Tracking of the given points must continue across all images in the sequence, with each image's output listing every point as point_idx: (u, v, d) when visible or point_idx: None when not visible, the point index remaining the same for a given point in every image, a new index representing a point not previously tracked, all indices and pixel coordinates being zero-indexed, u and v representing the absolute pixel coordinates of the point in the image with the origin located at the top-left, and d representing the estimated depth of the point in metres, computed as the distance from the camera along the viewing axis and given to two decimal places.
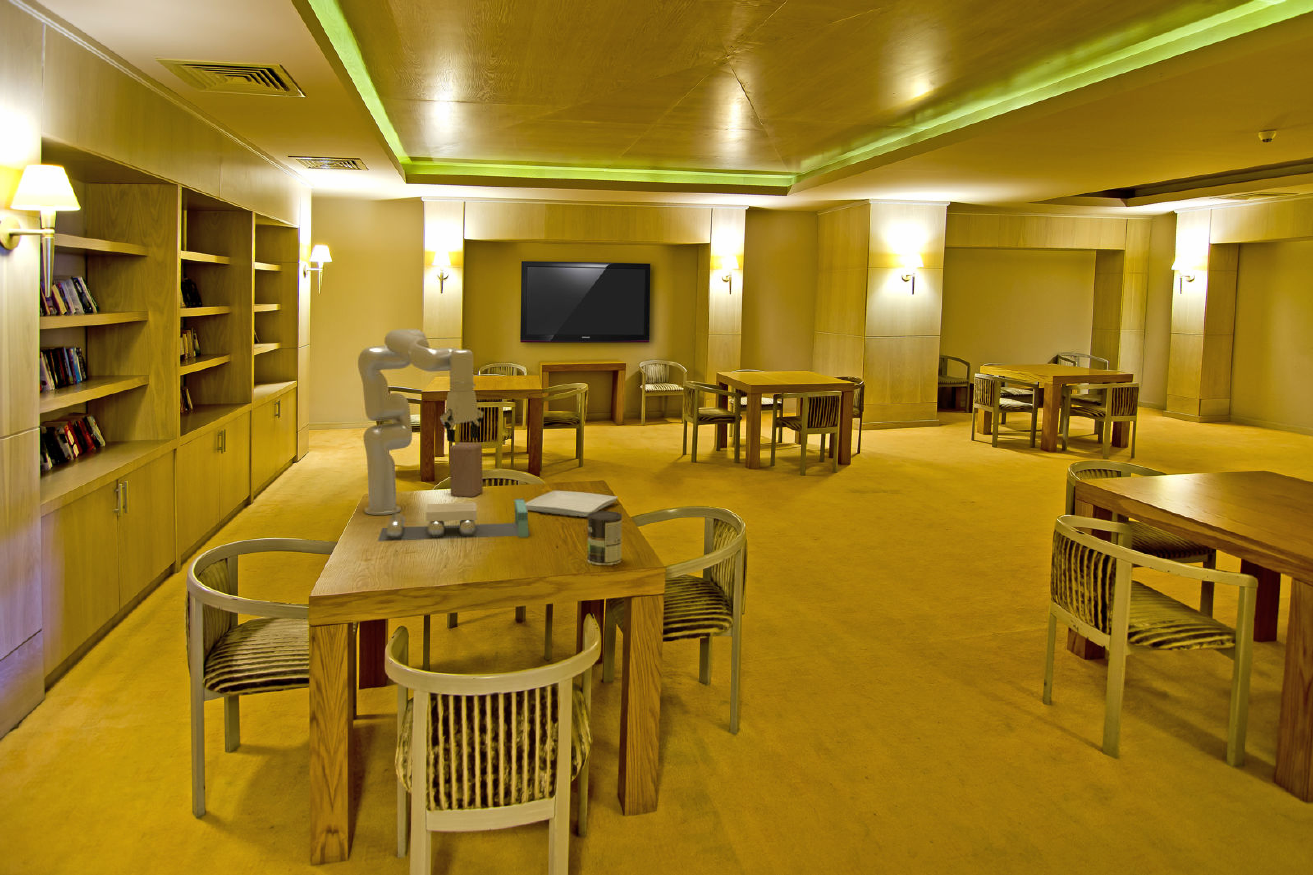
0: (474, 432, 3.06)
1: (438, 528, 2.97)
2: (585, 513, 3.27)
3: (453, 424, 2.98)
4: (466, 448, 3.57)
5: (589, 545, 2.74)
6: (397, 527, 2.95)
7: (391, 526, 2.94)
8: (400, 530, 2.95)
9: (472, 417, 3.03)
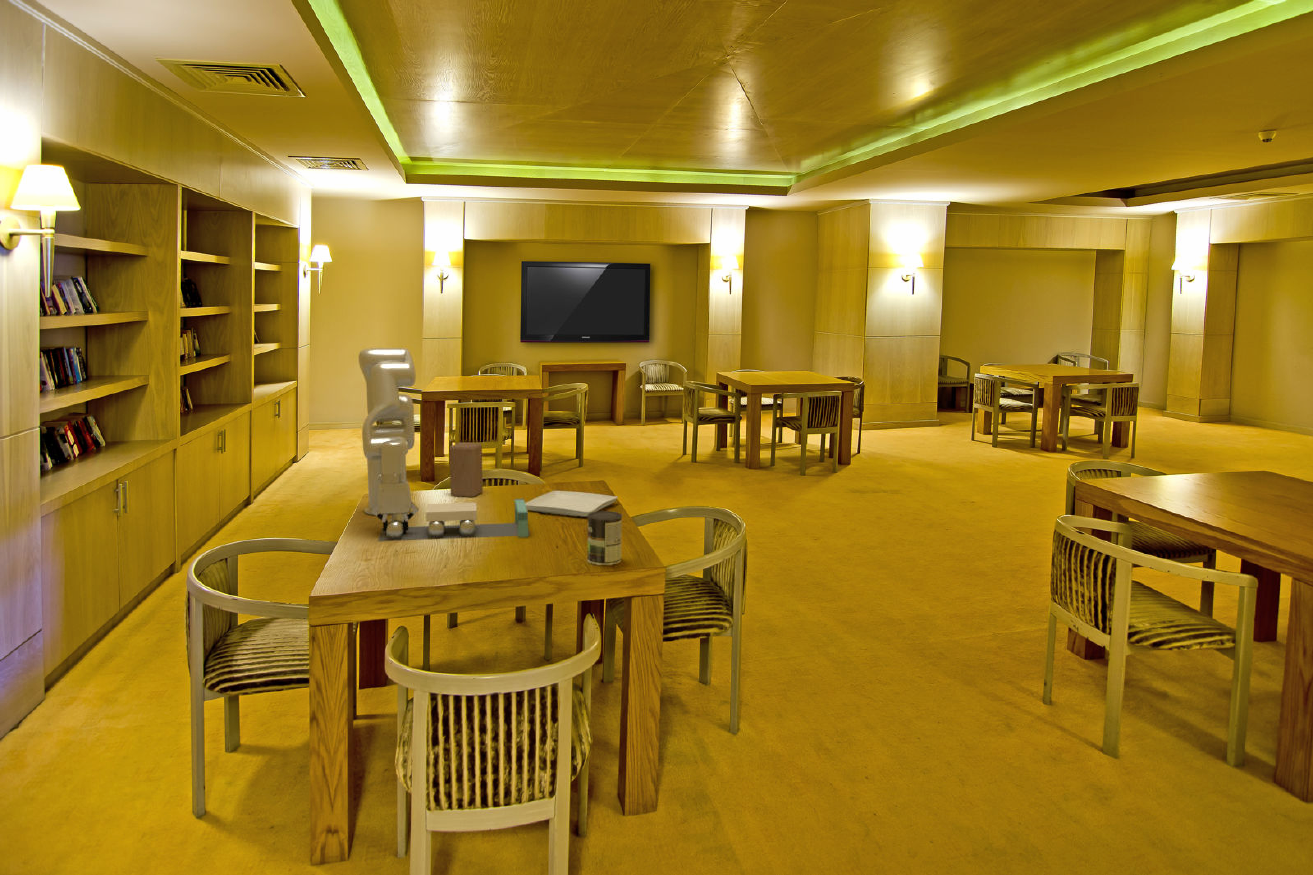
0: None
1: (438, 528, 2.97)
2: (585, 513, 3.27)
3: None
4: (466, 448, 3.57)
5: (589, 545, 2.74)
6: (397, 527, 2.95)
7: (391, 526, 2.94)
8: (400, 530, 2.95)
9: None
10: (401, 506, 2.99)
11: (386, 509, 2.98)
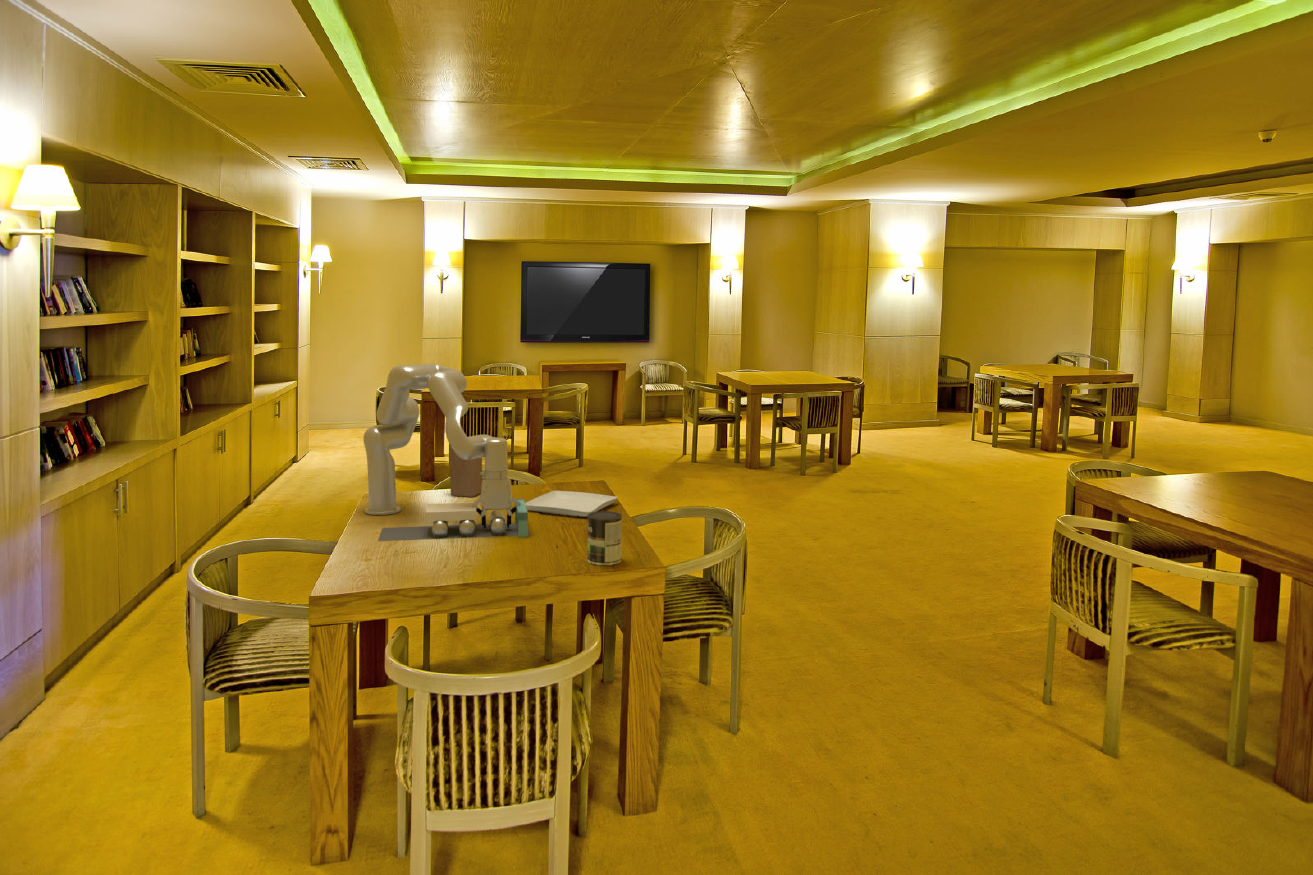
0: None
1: (442, 529, 2.98)
2: (585, 513, 3.27)
3: None
4: None
5: (589, 545, 2.74)
6: (502, 523, 3.01)
7: (496, 522, 3.01)
8: (505, 526, 3.02)
9: None
10: (503, 502, 3.06)
11: (488, 505, 3.05)
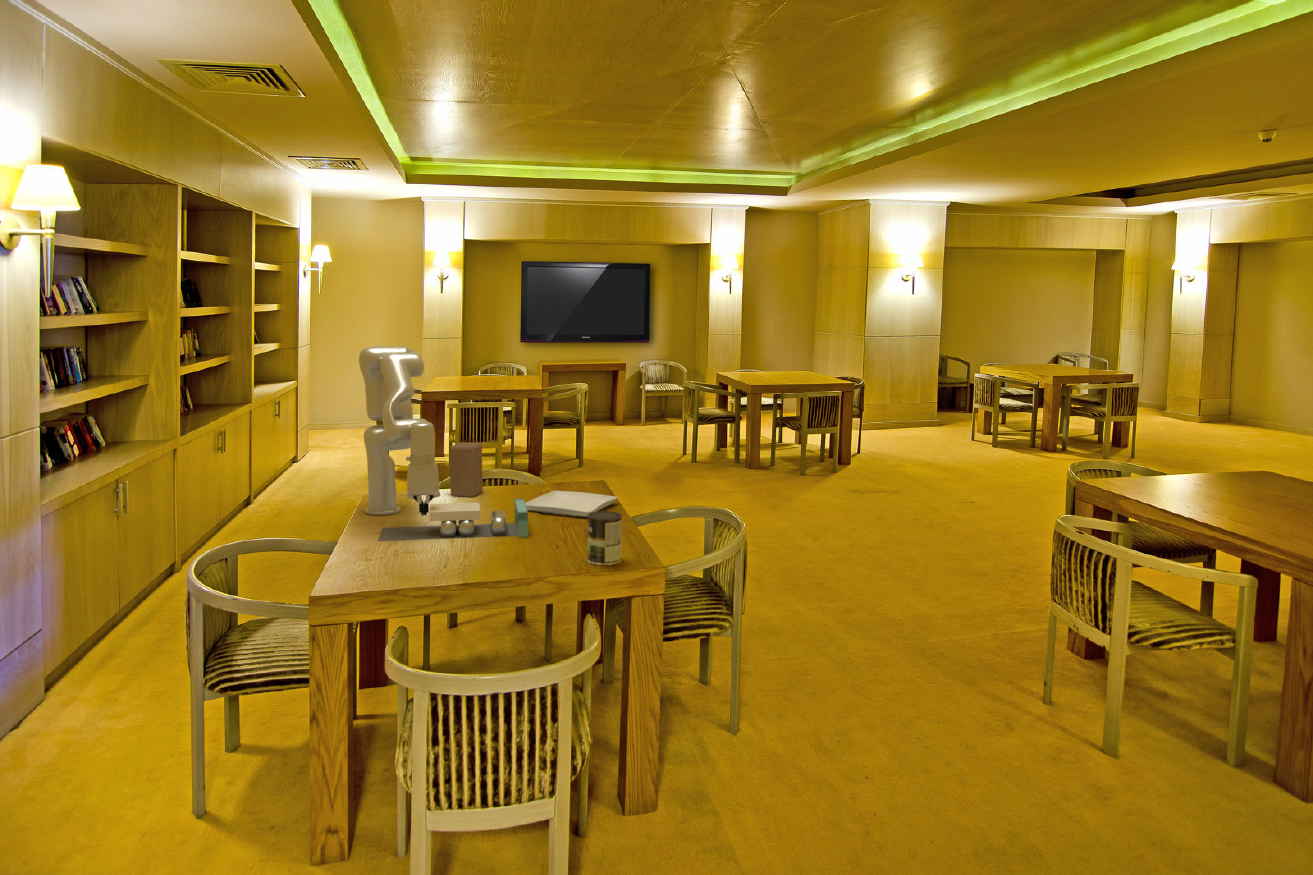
0: None
1: (450, 532, 2.98)
2: (585, 513, 3.27)
3: None
4: (466, 448, 3.57)
5: (589, 545, 2.74)
6: (503, 524, 3.01)
7: (498, 522, 3.01)
8: (505, 527, 3.02)
9: None
10: (429, 487, 3.00)
11: (414, 490, 2.99)
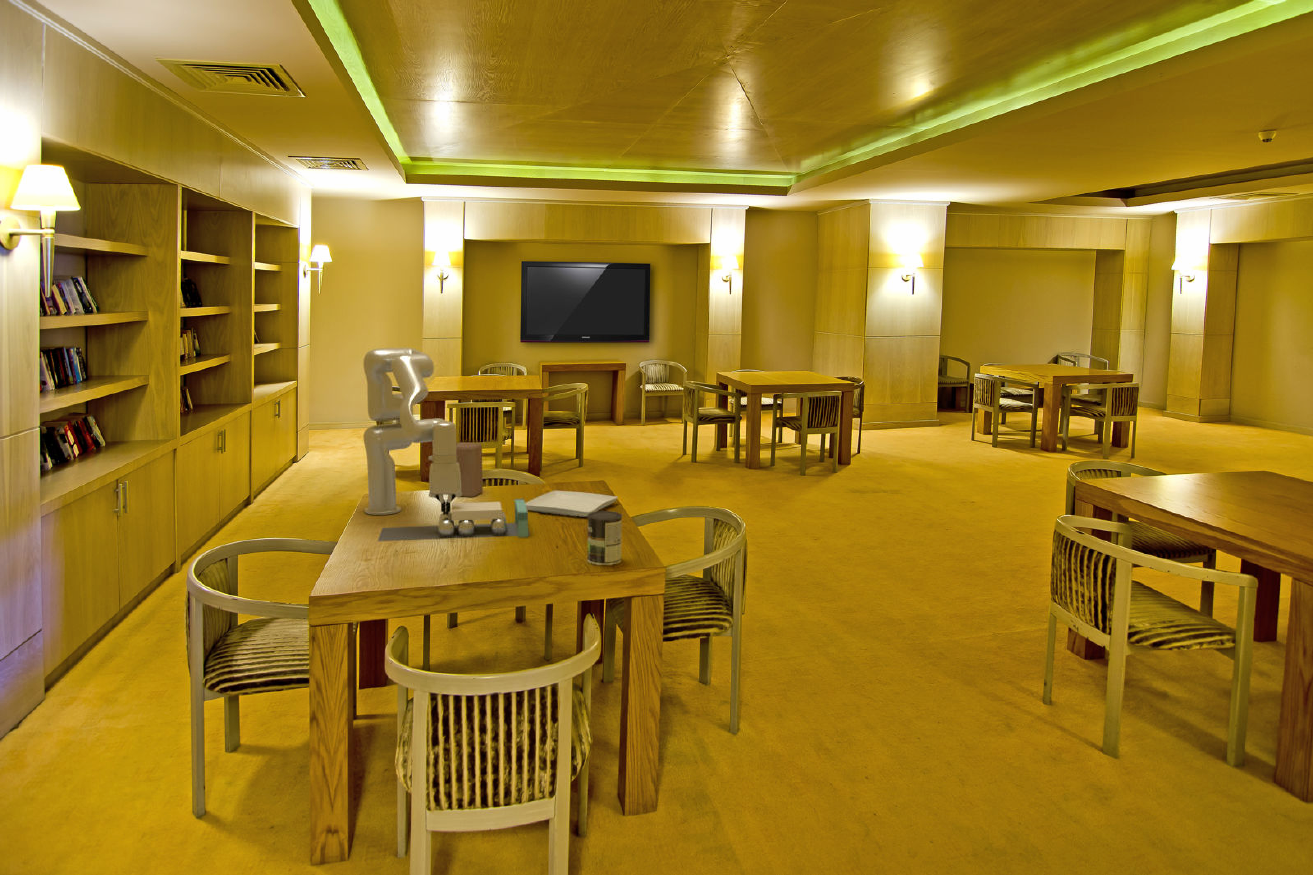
0: None
1: (448, 531, 2.98)
2: (585, 513, 3.27)
3: None
4: (466, 448, 3.57)
5: (589, 545, 2.74)
6: (503, 524, 3.01)
7: (498, 522, 3.01)
8: (506, 527, 3.02)
9: None
10: (451, 487, 3.01)
11: (437, 489, 3.01)
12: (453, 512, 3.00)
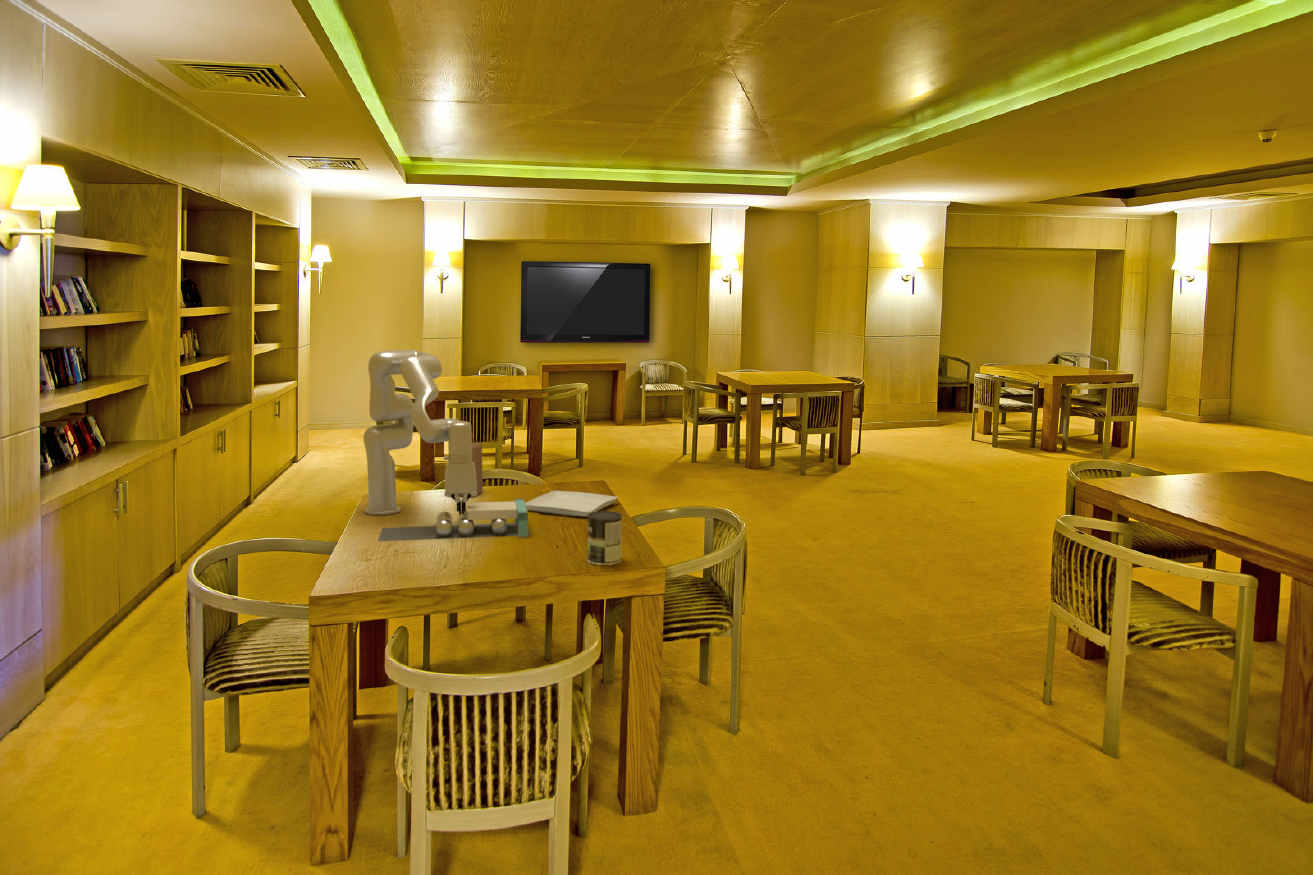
0: None
1: (447, 531, 2.98)
2: (585, 513, 3.27)
3: None
4: None
5: (589, 545, 2.74)
6: (503, 524, 3.01)
7: (498, 522, 3.01)
8: (506, 527, 3.02)
9: None
10: (467, 486, 3.02)
11: (452, 489, 3.02)
12: (469, 511, 3.01)
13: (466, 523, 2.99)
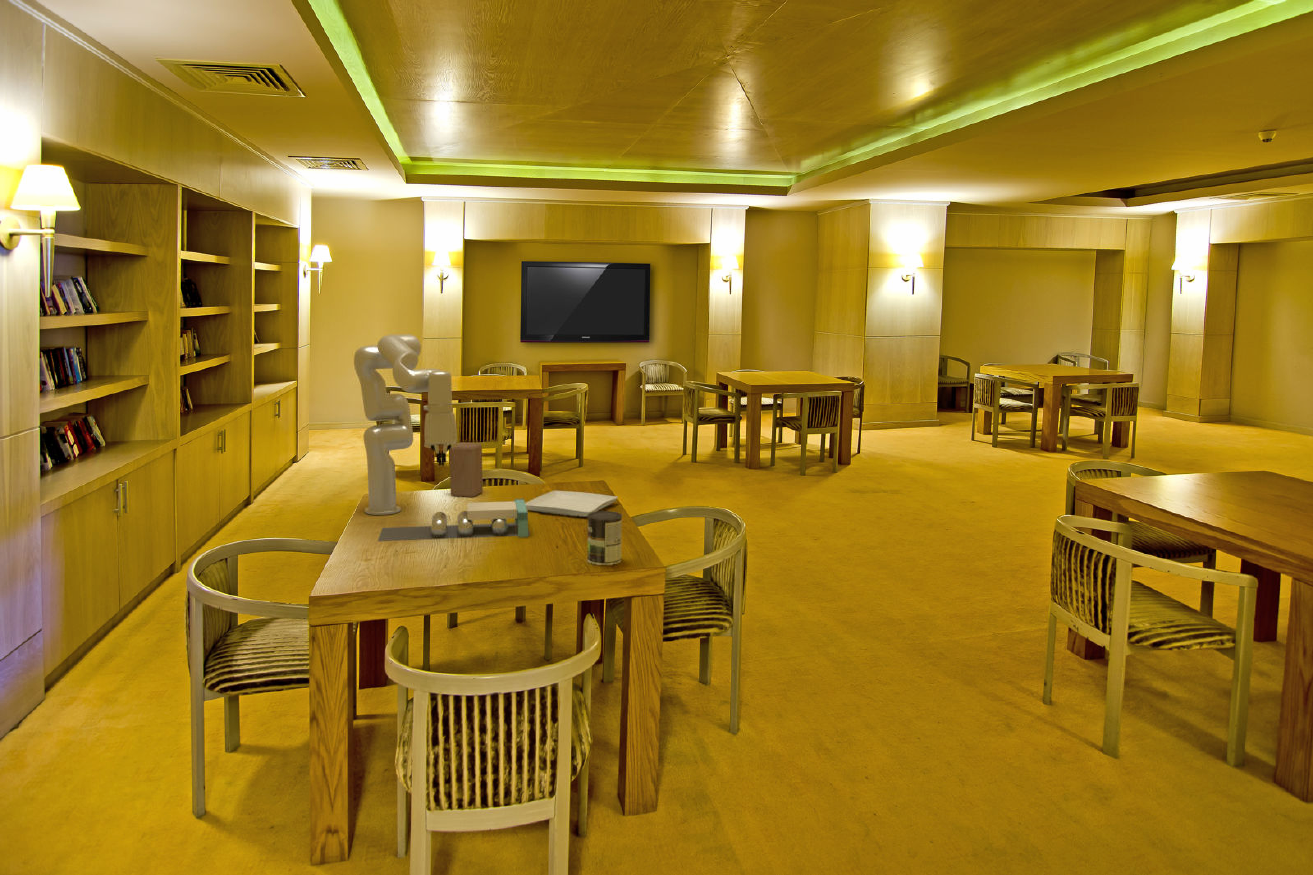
0: None
1: (441, 529, 2.98)
2: (585, 513, 3.27)
3: None
4: (466, 448, 3.57)
5: (589, 545, 2.74)
6: (504, 524, 3.01)
7: (499, 522, 3.01)
8: (506, 527, 3.02)
9: None
10: (447, 437, 2.99)
11: (432, 439, 2.98)
12: (469, 511, 3.01)
13: (465, 523, 2.99)
